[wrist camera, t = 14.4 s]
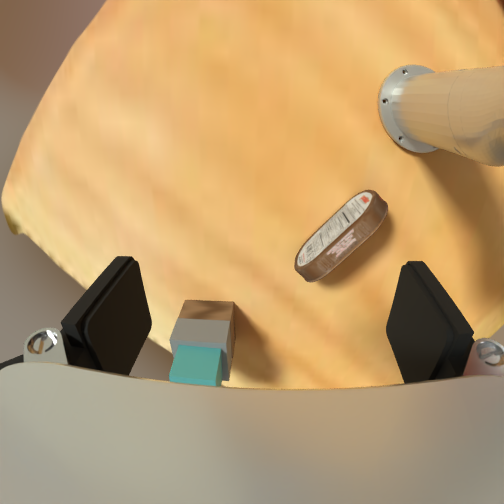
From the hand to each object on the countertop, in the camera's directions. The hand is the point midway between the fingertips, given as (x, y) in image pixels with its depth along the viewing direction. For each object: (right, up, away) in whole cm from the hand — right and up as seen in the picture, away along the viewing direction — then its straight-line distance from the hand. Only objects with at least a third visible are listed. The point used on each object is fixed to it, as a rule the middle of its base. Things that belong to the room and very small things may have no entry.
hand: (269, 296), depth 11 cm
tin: (+11, +6, +33) cm, 35 cm away
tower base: (-8, -10, +41) cm, 43 cm away
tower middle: (-8, -12, +37) cm, 40 cm away
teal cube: (-8, -14, +32) cm, 36 cm away
